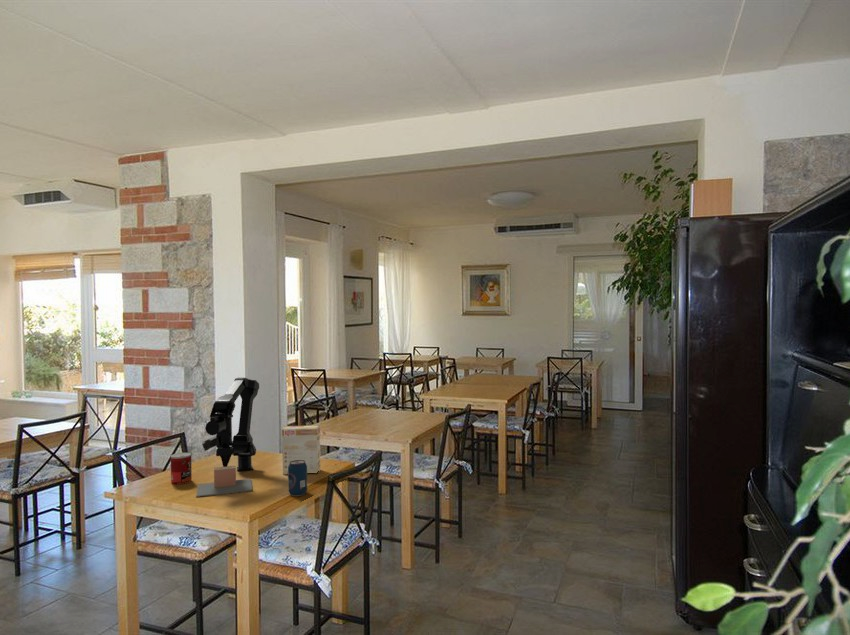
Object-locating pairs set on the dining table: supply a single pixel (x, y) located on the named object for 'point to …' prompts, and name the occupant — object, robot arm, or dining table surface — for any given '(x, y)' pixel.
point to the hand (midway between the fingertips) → (225, 468)
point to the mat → (224, 488)
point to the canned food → (181, 468)
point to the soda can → (297, 478)
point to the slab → (224, 476)
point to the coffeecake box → (301, 446)
